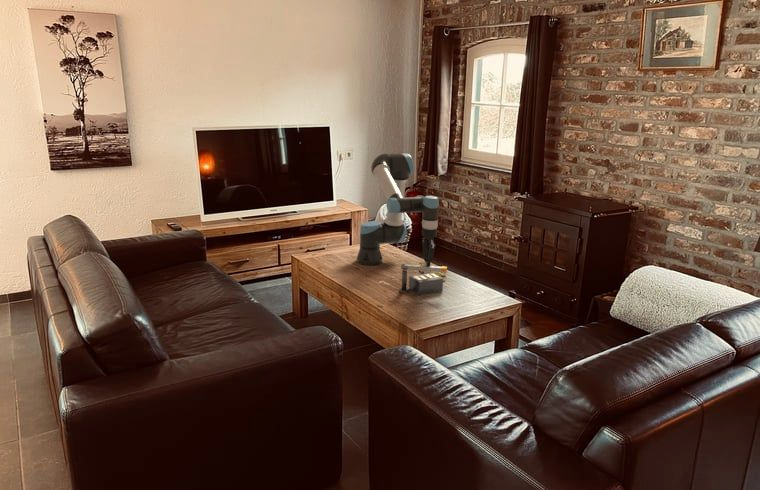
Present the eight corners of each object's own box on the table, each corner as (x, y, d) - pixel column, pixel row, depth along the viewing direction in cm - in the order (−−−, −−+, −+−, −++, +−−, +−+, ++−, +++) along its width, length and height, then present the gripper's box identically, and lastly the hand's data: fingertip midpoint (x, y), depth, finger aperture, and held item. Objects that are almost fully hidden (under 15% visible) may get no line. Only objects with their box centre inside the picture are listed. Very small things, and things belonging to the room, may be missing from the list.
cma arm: (401, 267, 293) (401, 263, 293) (446, 271, 290) (446, 266, 290) (400, 270, 290) (400, 265, 289) (446, 273, 287) (446, 268, 286)
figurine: (445, 281, 310) (427, 260, 308) (431, 291, 312) (413, 270, 311) (446, 274, 321) (428, 253, 320) (433, 284, 324) (415, 263, 323)
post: (397, 290, 296) (397, 269, 293) (405, 289, 298) (406, 268, 295) (402, 293, 291) (402, 272, 288) (410, 292, 294) (411, 271, 291)
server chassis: (408, 289, 298) (409, 275, 296) (431, 285, 305) (432, 271, 302) (418, 295, 290) (419, 281, 288) (442, 291, 296) (443, 277, 294)
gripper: (417, 224, 292) (415, 269, 299) (427, 231, 280) (424, 277, 287) (431, 224, 294) (429, 268, 301) (441, 230, 282) (438, 276, 289)
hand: (426, 273), depth 294 cm, fingers closed
